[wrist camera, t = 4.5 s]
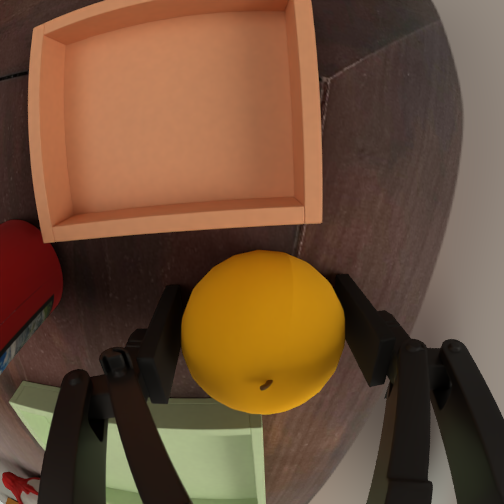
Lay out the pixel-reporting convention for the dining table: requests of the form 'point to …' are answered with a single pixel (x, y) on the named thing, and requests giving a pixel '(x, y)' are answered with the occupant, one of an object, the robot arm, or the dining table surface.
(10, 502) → the wooden board
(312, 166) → the drink tray
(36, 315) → the beverage can
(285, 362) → the orange
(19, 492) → the candle
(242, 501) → the fruit tray
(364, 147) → the dining table surface
